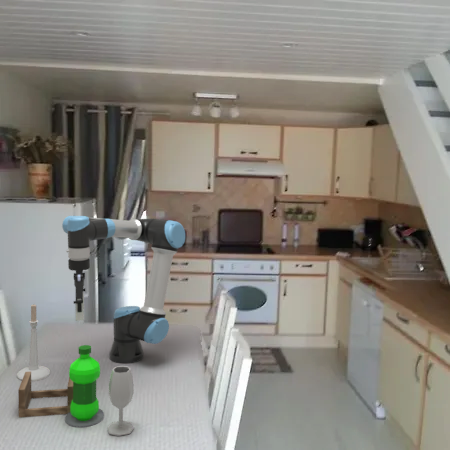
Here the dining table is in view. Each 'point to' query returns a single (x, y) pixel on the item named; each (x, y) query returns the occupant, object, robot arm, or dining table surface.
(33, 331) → the candlestick
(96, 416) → the slate coaster
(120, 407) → the wineglass
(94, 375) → the plastic bottle
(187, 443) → the dining table surface
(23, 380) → the walnut cradle
